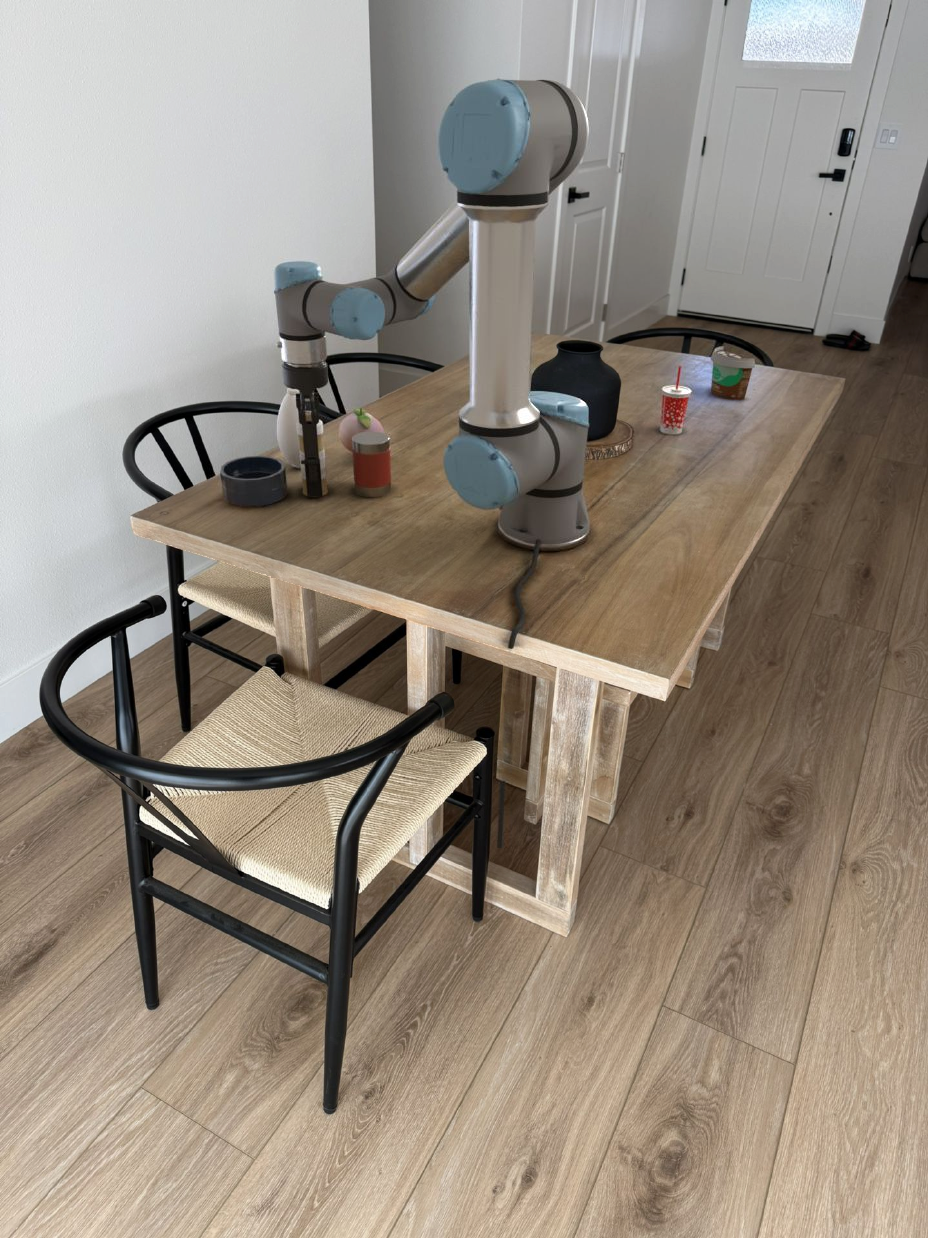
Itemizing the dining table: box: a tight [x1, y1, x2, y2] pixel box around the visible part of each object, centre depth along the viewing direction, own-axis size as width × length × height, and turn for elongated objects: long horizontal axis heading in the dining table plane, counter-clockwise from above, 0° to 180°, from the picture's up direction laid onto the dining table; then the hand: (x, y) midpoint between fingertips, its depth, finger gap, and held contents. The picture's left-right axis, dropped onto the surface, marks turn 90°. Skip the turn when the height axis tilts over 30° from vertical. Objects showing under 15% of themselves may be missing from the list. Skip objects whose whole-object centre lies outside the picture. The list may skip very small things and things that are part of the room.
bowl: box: [219, 455, 289, 508], centre depth 158 cm, size 11×11×6 cm
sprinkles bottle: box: [296, 419, 328, 497], centre depth 157 cm, size 5×5×13 cm
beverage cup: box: [659, 365, 692, 435], centre depth 187 cm, size 6×6×14 cm
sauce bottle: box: [276, 387, 301, 469], centre depth 166 cm, size 8×8×18 cm
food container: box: [710, 345, 756, 401], centre depth 210 cm, size 12×6×10 cm, turn 25°
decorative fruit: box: [338, 407, 385, 453], centre depth 173 cm, size 9×8×10 cm
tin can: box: [351, 431, 392, 498], centre depth 159 cm, size 7×7×10 cm
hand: (314, 489), depth 160 cm, fingers closed on sprinkles bottle, 4 cm apart
